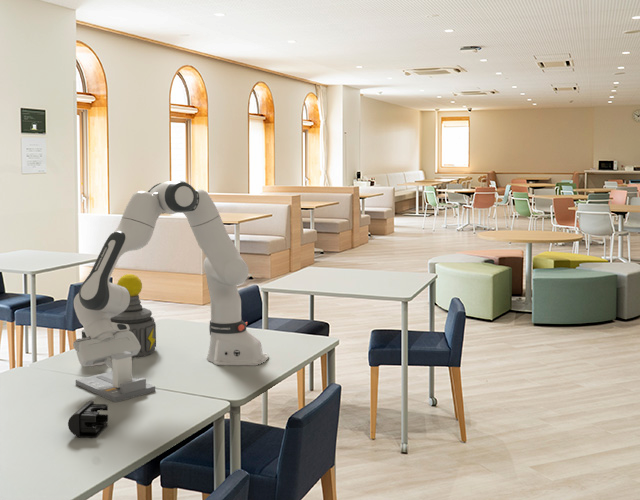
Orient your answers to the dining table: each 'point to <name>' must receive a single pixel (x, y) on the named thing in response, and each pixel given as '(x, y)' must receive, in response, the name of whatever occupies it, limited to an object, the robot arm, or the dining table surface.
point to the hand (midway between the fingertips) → (118, 370)
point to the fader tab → (121, 368)
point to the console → (105, 388)
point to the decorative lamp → (137, 316)
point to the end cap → (88, 420)
